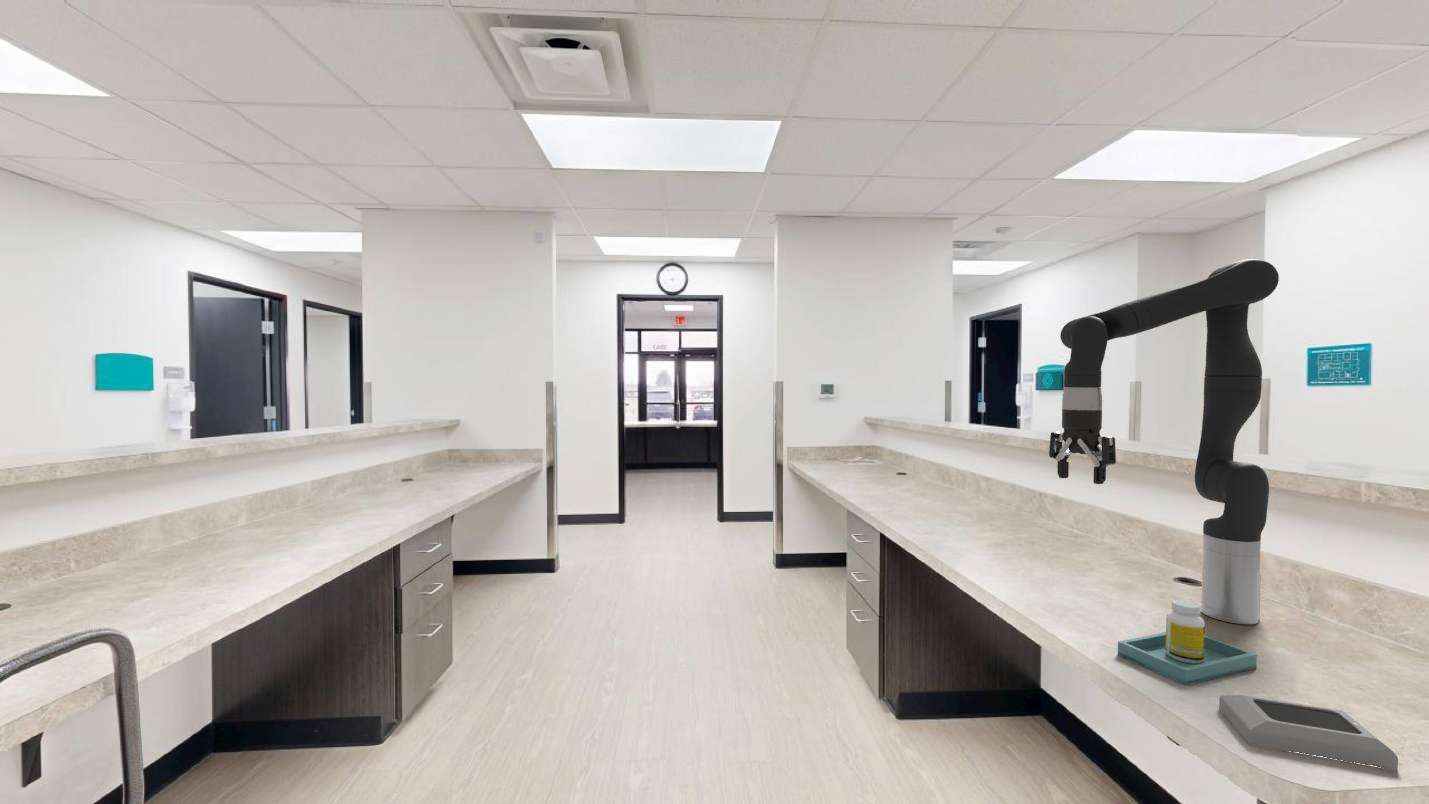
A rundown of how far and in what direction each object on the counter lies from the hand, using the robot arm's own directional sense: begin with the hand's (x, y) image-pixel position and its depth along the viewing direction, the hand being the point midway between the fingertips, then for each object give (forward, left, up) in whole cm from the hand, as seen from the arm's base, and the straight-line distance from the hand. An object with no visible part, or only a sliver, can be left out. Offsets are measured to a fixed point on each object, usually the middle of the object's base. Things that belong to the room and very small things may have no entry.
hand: (1080, 480), depth 131 cm
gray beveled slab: (+15, +47, -29) cm, 57 cm away
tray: (+6, +26, -28) cm, 39 cm away
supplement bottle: (+6, +26, -28) cm, 38 cm away
